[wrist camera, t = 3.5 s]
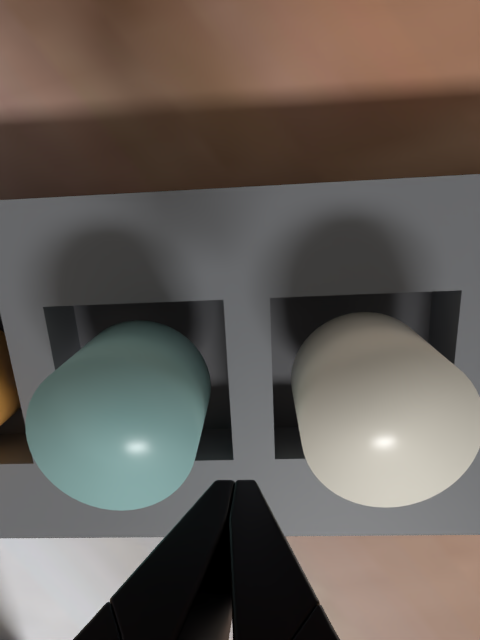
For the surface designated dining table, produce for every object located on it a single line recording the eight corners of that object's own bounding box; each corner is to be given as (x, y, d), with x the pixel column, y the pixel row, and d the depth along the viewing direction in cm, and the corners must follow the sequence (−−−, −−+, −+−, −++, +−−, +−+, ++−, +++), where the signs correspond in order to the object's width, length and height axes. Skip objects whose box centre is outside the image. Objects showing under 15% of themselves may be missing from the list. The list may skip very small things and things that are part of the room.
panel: (503, 175, 13) (558, 169, 11) (465, 484, 17) (501, 534, 14) (-185, 212, 15) (-276, 215, 12) (-93, 492, 18) (-149, 539, 16)
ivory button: (436, 309, 12) (495, 345, 9) (425, 437, 14) (474, 506, 11) (290, 314, 13) (300, 351, 10) (292, 440, 14) (301, 508, 11)
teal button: (205, 317, 13) (189, 355, 10) (215, 441, 14) (203, 509, 11) (68, 322, 13) (9, 360, 10) (89, 444, 14) (42, 511, 11)
